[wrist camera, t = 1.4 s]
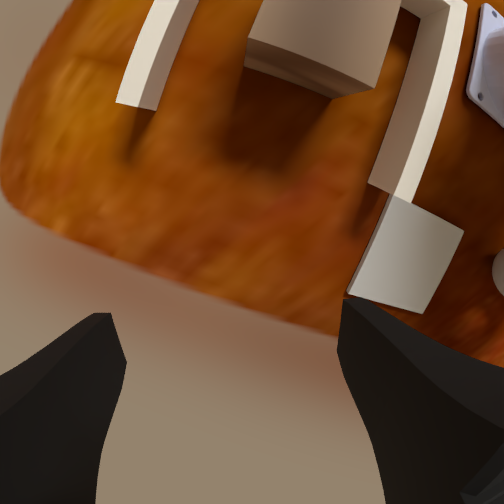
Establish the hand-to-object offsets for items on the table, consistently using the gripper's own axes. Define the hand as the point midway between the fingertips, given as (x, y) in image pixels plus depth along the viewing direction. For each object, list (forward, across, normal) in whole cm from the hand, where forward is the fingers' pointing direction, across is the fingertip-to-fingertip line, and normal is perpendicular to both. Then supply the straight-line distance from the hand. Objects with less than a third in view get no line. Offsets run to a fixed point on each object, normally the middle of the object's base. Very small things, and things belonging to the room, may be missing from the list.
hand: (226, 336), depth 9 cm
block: (+7, -4, -10) cm, 13 cm away
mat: (+7, -10, +1) cm, 13 cm away
